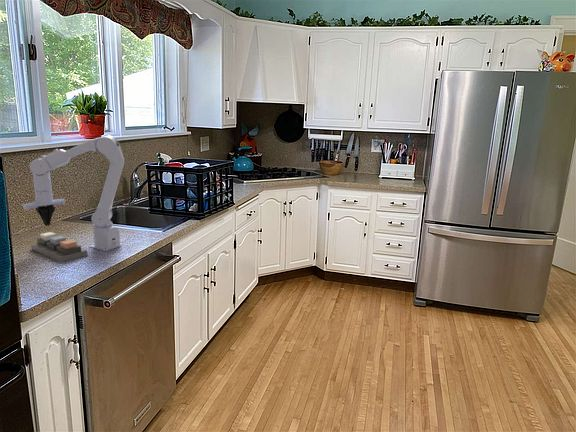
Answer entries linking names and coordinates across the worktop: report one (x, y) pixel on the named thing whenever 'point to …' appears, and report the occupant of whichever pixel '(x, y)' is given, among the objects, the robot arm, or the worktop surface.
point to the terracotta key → (68, 244)
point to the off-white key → (47, 236)
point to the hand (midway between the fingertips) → (47, 225)
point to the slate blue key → (57, 240)
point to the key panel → (58, 251)
